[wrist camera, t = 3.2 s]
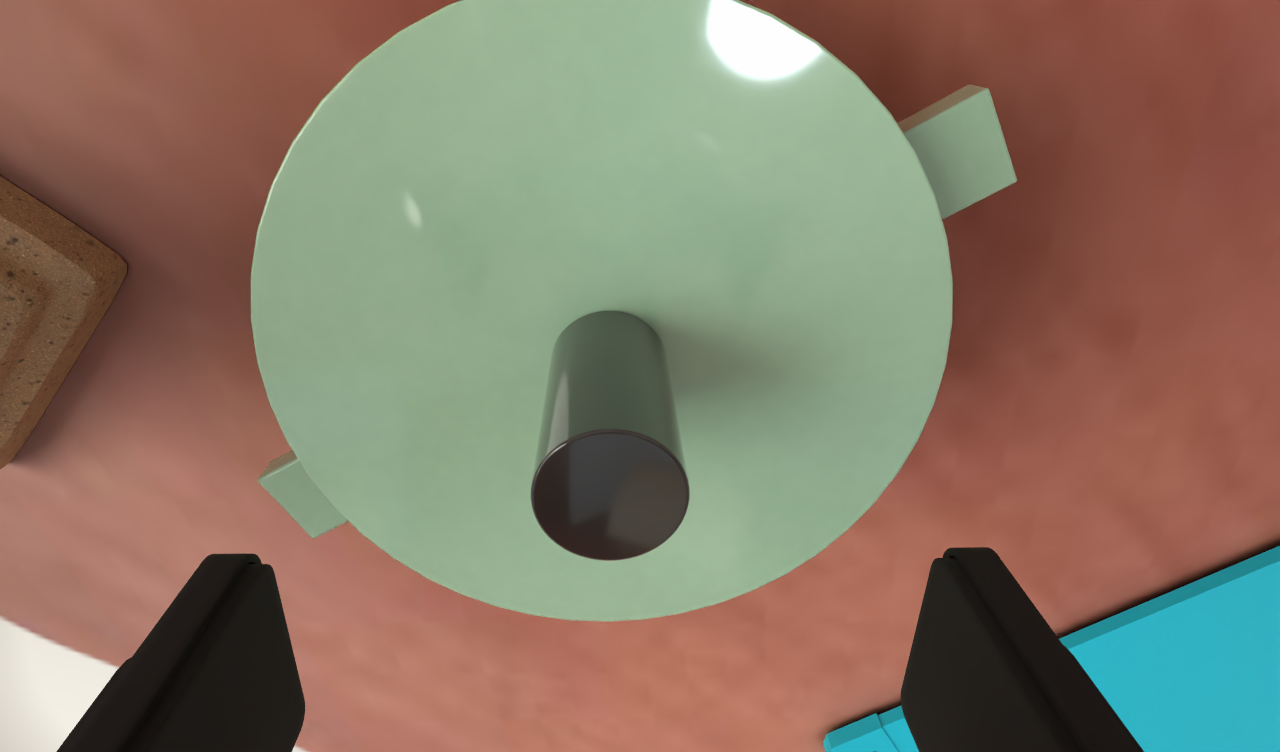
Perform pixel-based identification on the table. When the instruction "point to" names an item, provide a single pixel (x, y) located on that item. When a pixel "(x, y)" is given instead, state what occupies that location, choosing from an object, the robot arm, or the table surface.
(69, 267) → the candle holder
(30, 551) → the table surface
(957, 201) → the pot
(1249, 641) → the floppy disk
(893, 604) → the table surface
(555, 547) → the pot lid
